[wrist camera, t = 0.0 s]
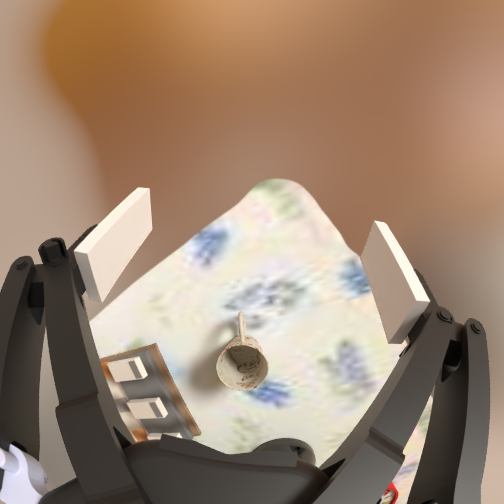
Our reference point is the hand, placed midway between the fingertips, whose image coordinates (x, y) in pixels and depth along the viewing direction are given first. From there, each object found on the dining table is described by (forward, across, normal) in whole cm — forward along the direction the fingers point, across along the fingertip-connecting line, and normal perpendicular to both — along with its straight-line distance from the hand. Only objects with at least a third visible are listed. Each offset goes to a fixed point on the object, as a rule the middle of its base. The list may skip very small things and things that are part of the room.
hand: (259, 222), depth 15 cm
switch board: (+8, +19, +50) cm, 54 cm away
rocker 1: (+10, +21, +40) cm, 46 cm away
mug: (+19, 0, +35) cm, 40 cm away
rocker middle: (+6, +16, +47) cm, 50 cm away
